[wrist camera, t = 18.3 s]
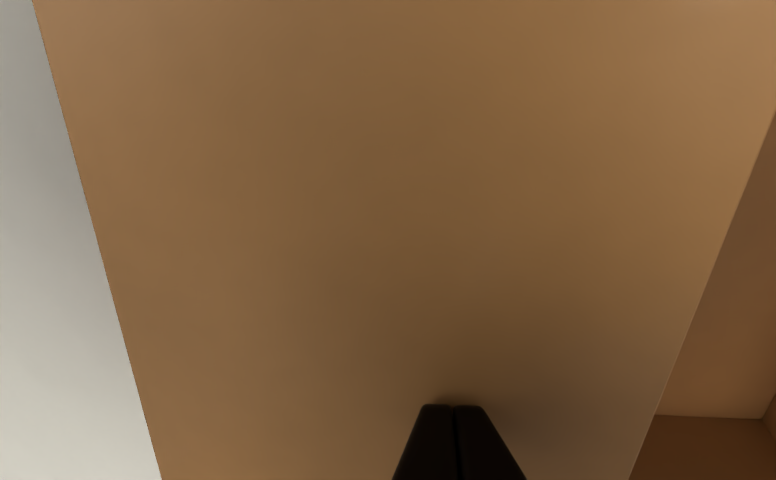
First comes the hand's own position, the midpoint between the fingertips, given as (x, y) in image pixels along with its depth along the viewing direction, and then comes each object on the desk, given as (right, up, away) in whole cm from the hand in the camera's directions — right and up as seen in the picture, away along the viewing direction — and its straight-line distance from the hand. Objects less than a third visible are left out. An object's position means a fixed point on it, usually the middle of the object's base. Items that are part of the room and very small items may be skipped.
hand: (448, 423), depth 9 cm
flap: (-1, 0, 0) cm, 1 cm away
